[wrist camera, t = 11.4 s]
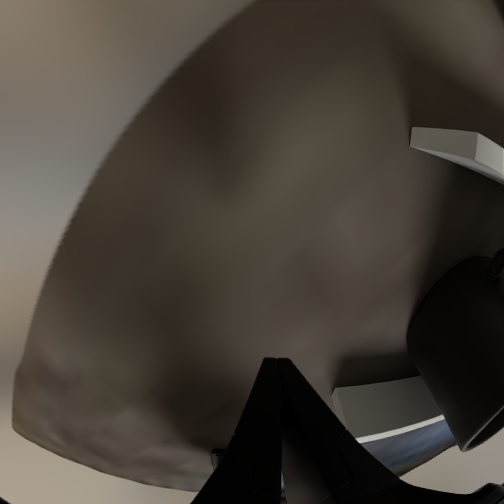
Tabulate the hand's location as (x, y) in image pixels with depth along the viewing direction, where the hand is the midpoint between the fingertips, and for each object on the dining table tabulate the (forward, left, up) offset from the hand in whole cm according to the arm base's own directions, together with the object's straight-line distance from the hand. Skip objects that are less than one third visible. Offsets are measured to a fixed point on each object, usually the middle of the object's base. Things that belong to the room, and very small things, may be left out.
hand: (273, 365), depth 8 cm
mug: (-1, -14, -5) cm, 15 cm away
